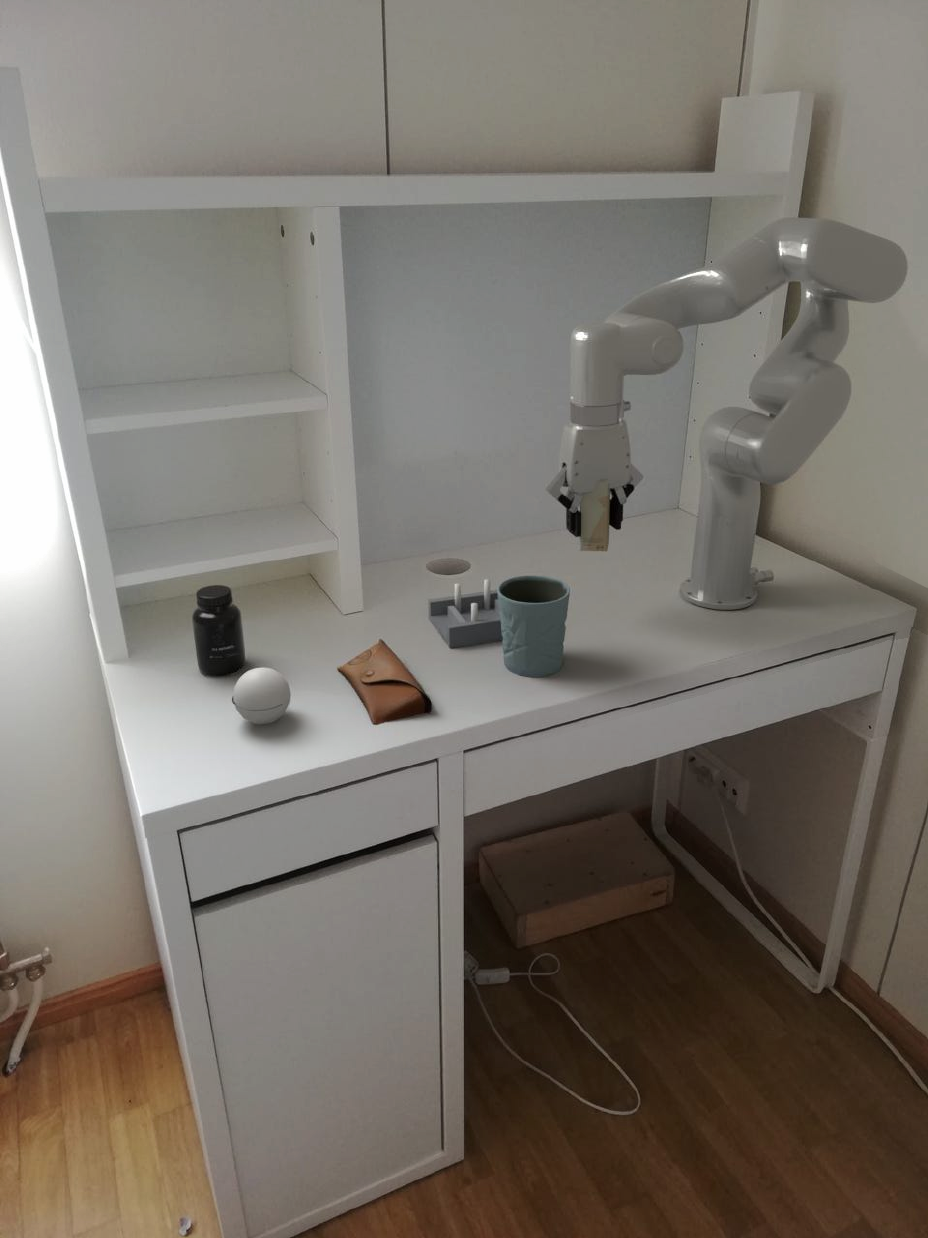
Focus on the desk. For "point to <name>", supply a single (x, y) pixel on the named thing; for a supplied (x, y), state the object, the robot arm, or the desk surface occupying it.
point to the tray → (467, 617)
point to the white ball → (261, 695)
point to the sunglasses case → (385, 685)
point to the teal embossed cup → (533, 624)
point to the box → (595, 518)
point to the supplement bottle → (218, 632)
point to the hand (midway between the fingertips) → (594, 529)
